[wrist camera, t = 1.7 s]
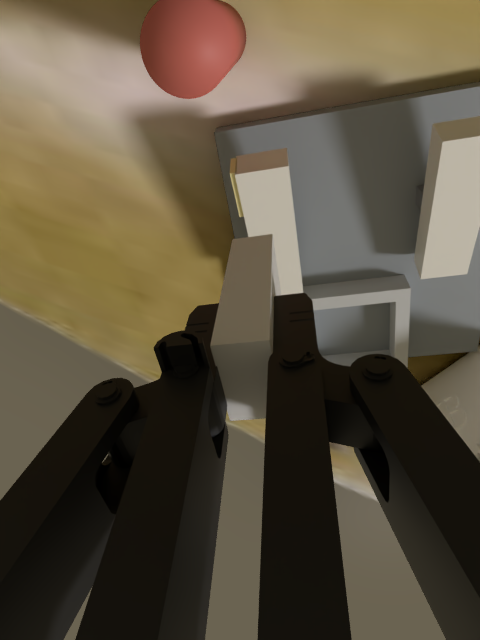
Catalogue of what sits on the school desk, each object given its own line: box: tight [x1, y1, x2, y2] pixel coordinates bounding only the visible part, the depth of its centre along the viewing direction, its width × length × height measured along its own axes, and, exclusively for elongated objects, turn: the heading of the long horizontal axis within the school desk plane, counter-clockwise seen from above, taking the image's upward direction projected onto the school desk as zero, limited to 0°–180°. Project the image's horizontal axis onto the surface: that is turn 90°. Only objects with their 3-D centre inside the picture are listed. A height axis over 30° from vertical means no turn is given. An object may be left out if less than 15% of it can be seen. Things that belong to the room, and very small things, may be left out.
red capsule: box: [140, 0, 246, 99], centre depth 22 cm, size 4×4×11 cm
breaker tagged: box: [230, 148, 303, 295], centre depth 29 cm, size 10×3×2 cm, turn 11°
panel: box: [214, 82, 480, 367], centre depth 32 cm, size 20×18×4 cm
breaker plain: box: [414, 116, 480, 279], centre depth 27 cm, size 10×3×2 cm, turn 11°
